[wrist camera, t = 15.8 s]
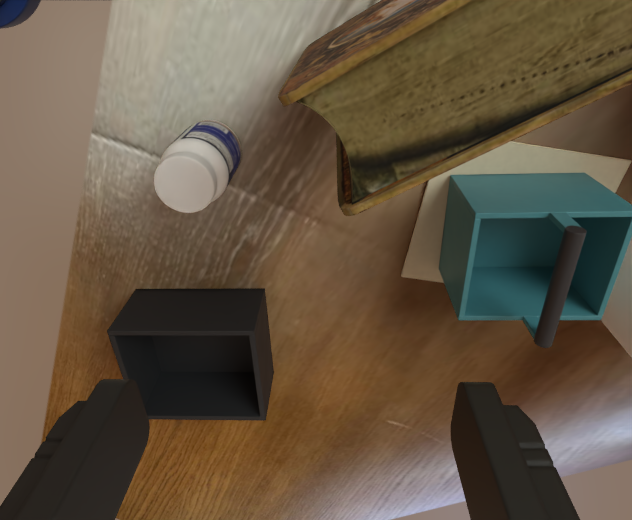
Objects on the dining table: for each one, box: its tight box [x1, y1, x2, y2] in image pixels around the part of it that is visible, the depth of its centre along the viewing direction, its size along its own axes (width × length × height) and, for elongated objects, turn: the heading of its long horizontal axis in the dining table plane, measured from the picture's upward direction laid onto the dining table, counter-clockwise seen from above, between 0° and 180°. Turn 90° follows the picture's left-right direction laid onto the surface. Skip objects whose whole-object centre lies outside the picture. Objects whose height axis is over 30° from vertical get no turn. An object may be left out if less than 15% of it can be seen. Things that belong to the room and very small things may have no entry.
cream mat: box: [401, 141, 631, 283], centre depth 45 cm, size 18×16×1 cm
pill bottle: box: [154, 120, 242, 213], centre depth 38 cm, size 6×6×10 cm
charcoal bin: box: [107, 289, 274, 420], centre depth 51 cm, size 15×13×8 cm
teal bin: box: [439, 173, 632, 348], centre depth 40 cm, size 13×11×13 cm
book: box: [278, 0, 632, 216], centre depth 26 cm, size 16×6×25 cm, turn 119°
